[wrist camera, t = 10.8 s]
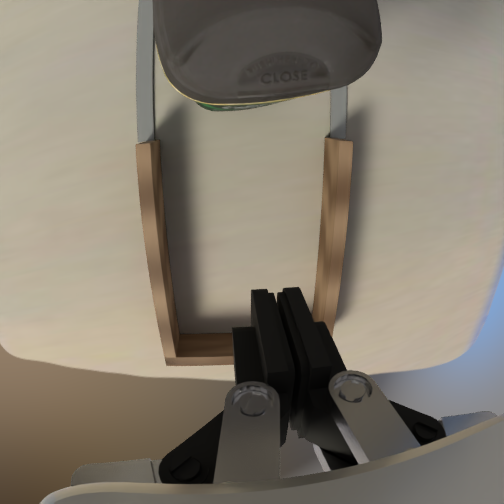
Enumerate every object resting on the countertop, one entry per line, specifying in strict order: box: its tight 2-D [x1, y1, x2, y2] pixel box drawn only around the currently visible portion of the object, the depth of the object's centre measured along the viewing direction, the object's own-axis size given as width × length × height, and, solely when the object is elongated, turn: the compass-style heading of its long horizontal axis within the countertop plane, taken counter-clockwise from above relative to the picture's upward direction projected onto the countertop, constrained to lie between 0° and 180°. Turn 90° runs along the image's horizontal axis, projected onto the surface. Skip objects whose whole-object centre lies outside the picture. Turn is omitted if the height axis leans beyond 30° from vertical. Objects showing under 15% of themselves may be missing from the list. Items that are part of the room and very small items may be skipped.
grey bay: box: [136, 0, 347, 142], centre depth 25 cm, size 14×19×1 cm
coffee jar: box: [152, 0, 382, 111], centre depth 17 cm, size 10×8×19 cm
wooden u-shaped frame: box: [136, 138, 353, 366], centre depth 30 cm, size 22×17×4 cm
